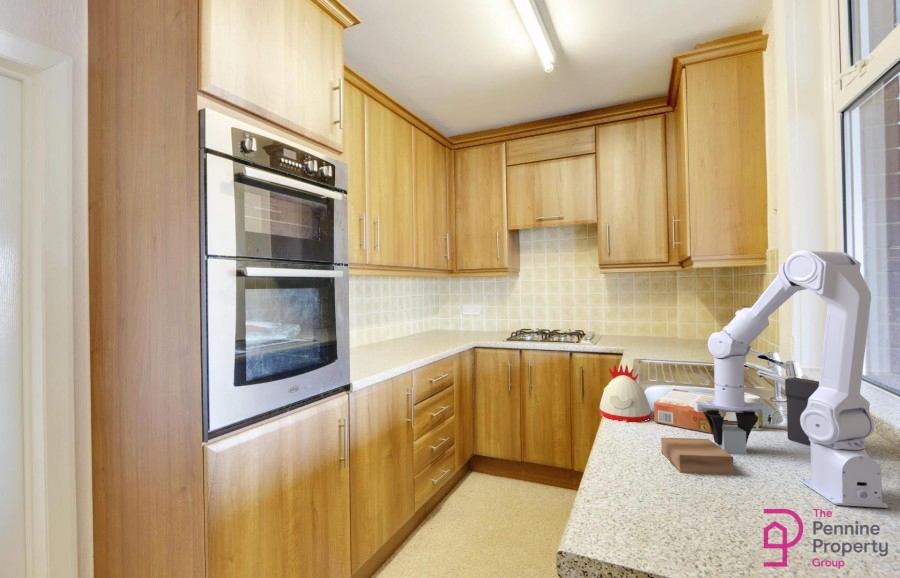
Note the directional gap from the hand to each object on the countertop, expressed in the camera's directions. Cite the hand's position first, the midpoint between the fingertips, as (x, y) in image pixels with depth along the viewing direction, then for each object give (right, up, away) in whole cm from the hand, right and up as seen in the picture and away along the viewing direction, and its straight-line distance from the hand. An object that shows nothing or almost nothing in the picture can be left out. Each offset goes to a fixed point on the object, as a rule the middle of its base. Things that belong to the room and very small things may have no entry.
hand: (730, 443), depth 96 cm
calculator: (+22, -1, +2) cm, 22 cm away
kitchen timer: (-13, -2, +27) cm, 30 cm away
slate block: (0, -1, 0) cm, 1 cm away
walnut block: (-12, -2, -7) cm, 14 cm away
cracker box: (-3, +1, +15) cm, 15 cm away
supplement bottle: (+16, -2, +15) cm, 21 cm away
